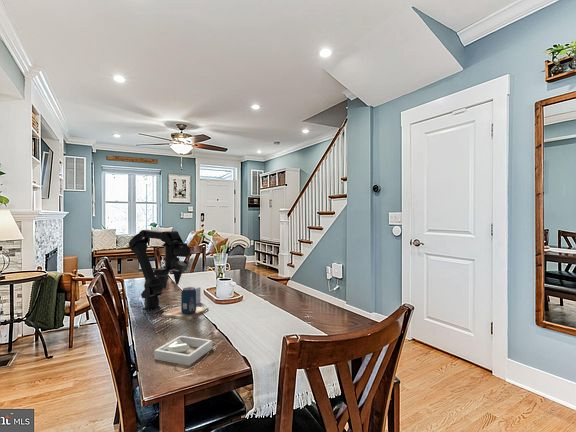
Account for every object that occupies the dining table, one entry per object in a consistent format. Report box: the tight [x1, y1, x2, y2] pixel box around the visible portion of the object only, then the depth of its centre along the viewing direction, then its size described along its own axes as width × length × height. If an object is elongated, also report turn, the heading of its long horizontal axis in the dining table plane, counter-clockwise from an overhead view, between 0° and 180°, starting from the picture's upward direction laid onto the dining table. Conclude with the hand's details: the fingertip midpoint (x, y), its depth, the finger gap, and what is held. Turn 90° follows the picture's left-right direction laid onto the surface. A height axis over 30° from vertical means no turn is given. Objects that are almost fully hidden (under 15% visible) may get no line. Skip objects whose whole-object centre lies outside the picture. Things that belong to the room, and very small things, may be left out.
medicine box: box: [185, 286, 202, 305], centre depth 177 cm, size 8×4×9 cm, turn 74°
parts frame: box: [153, 335, 213, 366], centre depth 113 cm, size 14×14×3 cm
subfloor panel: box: [161, 305, 209, 321], centre depth 159 cm, size 16×16×1 cm
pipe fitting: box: [163, 340, 191, 354], centre depth 113 cm, size 8×4×7 cm
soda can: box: [180, 286, 197, 315], centre depth 155 cm, size 7×7×12 cm
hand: (171, 286), depth 160 cm, fingers open, 9 cm apart
